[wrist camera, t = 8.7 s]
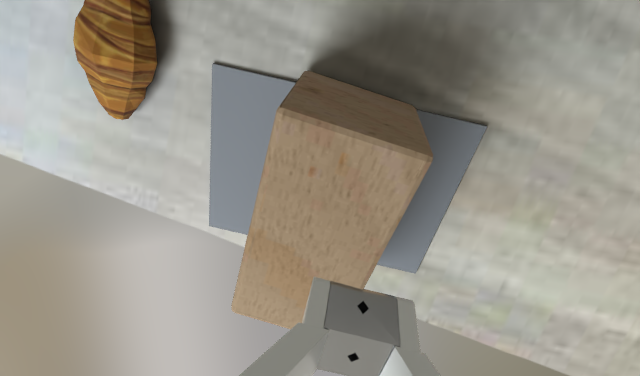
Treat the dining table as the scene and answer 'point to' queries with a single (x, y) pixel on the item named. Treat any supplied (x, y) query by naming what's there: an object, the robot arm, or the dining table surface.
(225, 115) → the felt mat
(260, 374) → the robot arm
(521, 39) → the dining table surface
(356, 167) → the wooden block
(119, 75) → the croissant
